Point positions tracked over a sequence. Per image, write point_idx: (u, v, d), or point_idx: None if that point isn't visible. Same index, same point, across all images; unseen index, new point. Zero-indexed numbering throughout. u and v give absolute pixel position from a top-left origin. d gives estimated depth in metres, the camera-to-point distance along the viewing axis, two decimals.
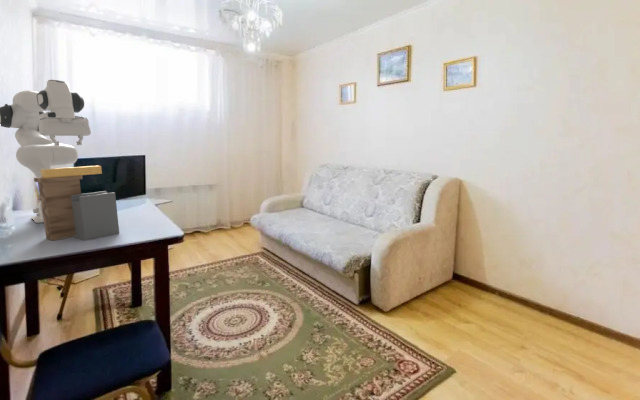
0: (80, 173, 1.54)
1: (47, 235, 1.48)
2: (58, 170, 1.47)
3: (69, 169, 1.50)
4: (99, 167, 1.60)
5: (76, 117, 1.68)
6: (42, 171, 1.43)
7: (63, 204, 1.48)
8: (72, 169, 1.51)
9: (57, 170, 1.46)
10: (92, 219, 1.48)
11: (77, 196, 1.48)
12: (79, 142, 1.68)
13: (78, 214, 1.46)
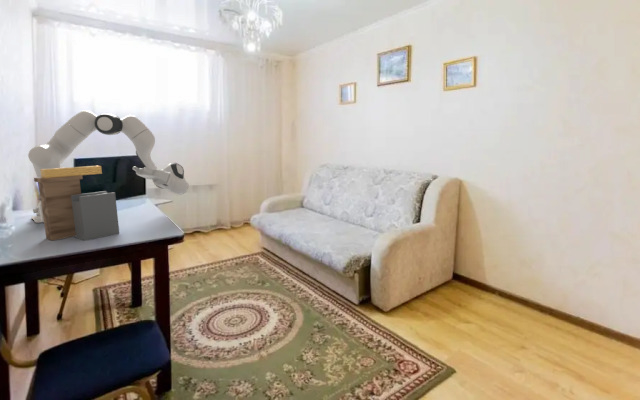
0: (80, 173, 1.54)
1: (47, 235, 1.48)
2: (58, 170, 1.47)
3: (69, 169, 1.50)
4: (99, 167, 1.60)
5: None
6: (42, 171, 1.43)
7: (63, 204, 1.48)
8: (72, 169, 1.51)
9: (57, 170, 1.46)
10: (92, 219, 1.48)
11: (77, 196, 1.48)
12: (135, 170, 1.80)
13: (78, 214, 1.46)
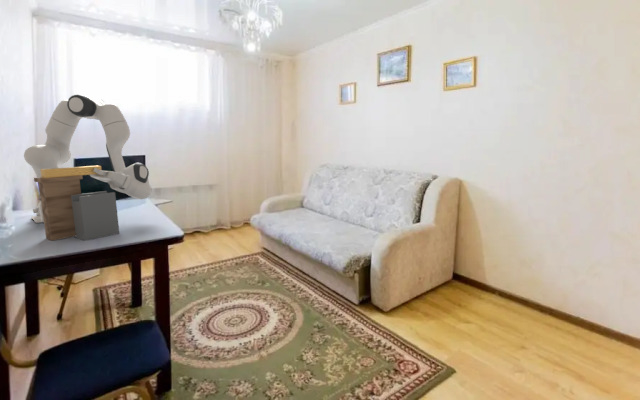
0: (80, 173, 1.54)
1: (47, 235, 1.48)
2: (58, 170, 1.47)
3: (69, 169, 1.50)
4: (99, 167, 1.60)
5: None
6: (42, 171, 1.43)
7: (63, 204, 1.48)
8: (72, 169, 1.51)
9: (57, 170, 1.46)
10: (92, 219, 1.48)
11: (77, 196, 1.48)
12: None
13: (78, 214, 1.46)
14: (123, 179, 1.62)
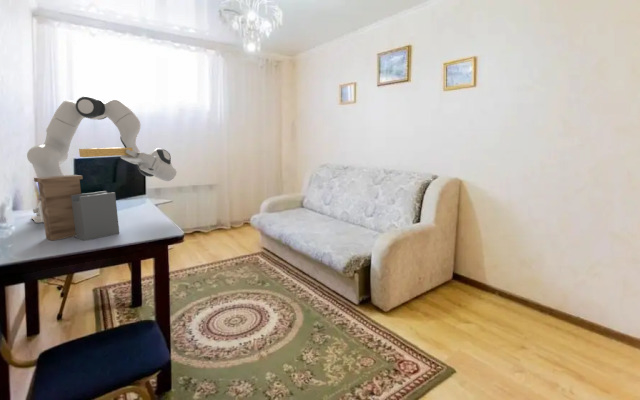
0: (114, 154, 1.64)
1: (47, 235, 1.48)
2: (95, 150, 1.57)
3: (104, 149, 1.60)
4: (130, 149, 1.70)
5: None
6: (81, 150, 1.54)
7: (63, 204, 1.48)
8: (107, 149, 1.61)
9: (94, 150, 1.56)
10: (92, 219, 1.48)
11: (77, 196, 1.48)
12: None
13: (78, 214, 1.46)
14: (153, 160, 1.72)
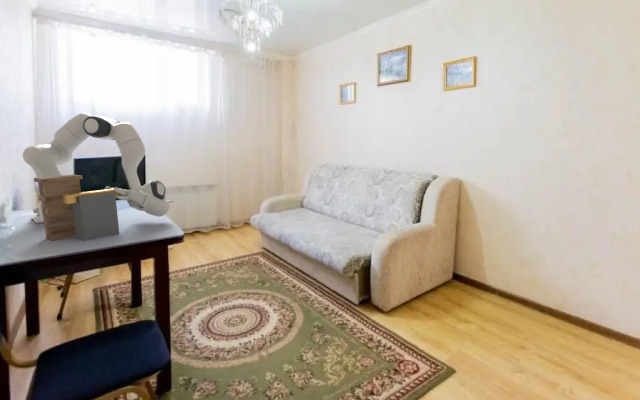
0: None
1: (47, 235, 1.48)
2: (80, 195, 1.45)
3: (90, 193, 1.48)
4: None
5: None
6: (64, 197, 1.42)
7: (63, 204, 1.48)
8: (93, 193, 1.49)
9: (79, 195, 1.45)
10: (92, 219, 1.48)
11: None
12: None
13: (78, 214, 1.46)
14: (143, 198, 1.60)
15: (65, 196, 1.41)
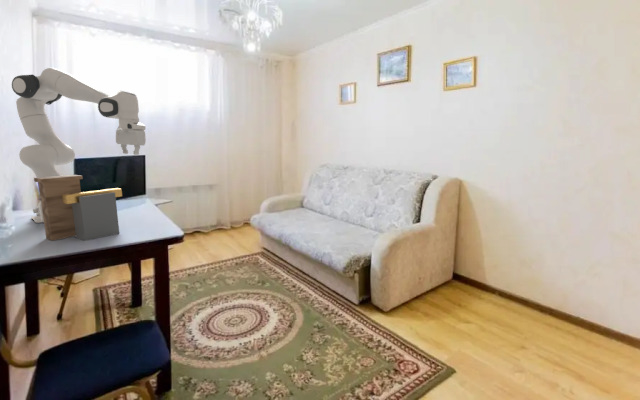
0: None
1: (47, 235, 1.48)
2: (80, 195, 1.45)
3: (90, 193, 1.48)
4: (119, 190, 1.58)
5: None
6: (64, 197, 1.42)
7: (63, 204, 1.48)
8: (93, 193, 1.49)
9: (79, 195, 1.45)
10: (92, 219, 1.48)
11: None
12: None
13: (78, 214, 1.46)
14: (140, 133, 1.67)
15: (65, 196, 1.41)
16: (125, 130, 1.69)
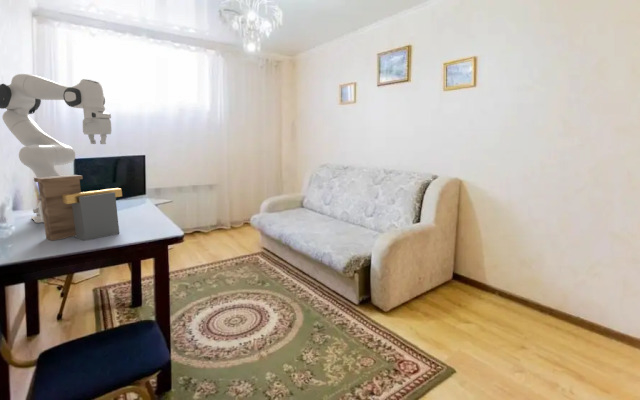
0: None
1: (47, 235, 1.48)
2: (80, 195, 1.45)
3: (90, 193, 1.48)
4: (119, 190, 1.58)
5: None
6: (64, 197, 1.42)
7: (63, 204, 1.48)
8: (93, 193, 1.49)
9: (79, 195, 1.45)
10: (92, 219, 1.48)
11: None
12: None
13: (78, 214, 1.46)
14: (105, 121, 1.63)
15: (65, 196, 1.41)
16: (90, 119, 1.65)
